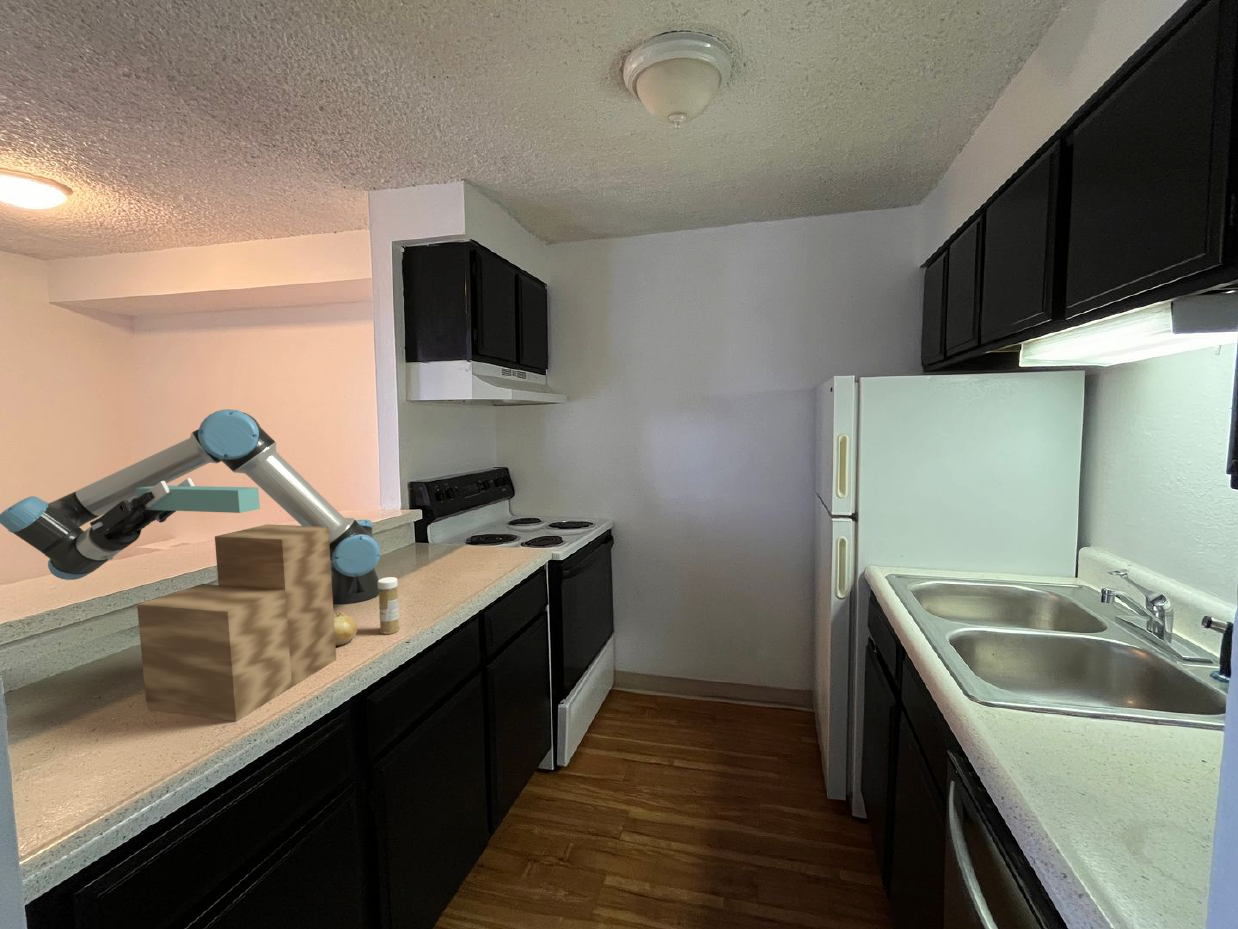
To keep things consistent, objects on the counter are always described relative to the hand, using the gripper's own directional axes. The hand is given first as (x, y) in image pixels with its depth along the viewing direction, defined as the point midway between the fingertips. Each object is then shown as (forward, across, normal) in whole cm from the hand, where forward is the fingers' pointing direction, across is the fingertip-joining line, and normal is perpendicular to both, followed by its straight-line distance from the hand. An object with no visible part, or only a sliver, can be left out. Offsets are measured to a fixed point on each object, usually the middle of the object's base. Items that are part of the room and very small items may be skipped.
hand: (178, 485), depth 108 cm
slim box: (+1, 0, -7) cm, 7 cm away
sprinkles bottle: (+5, -26, -49) cm, 56 cm away
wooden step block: (-5, +3, -43) cm, 44 cm away
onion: (-1, -18, -45) cm, 49 cm away
